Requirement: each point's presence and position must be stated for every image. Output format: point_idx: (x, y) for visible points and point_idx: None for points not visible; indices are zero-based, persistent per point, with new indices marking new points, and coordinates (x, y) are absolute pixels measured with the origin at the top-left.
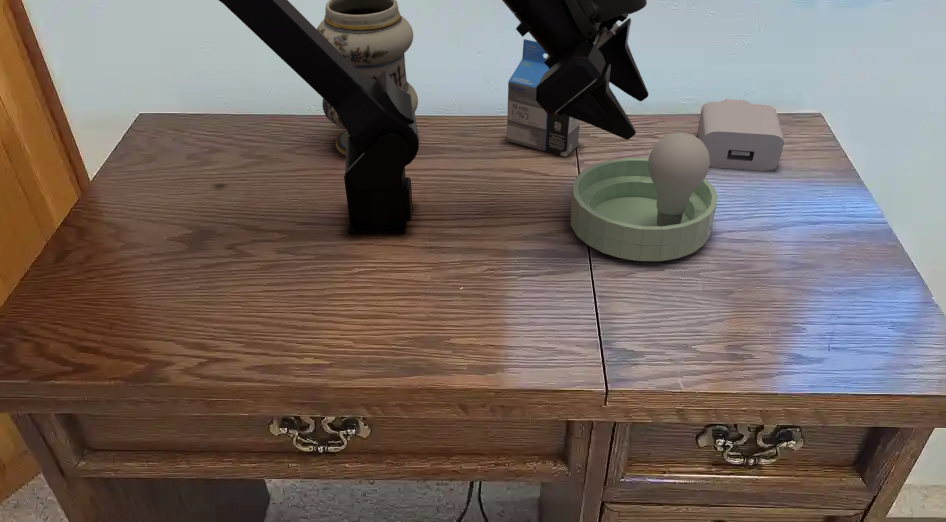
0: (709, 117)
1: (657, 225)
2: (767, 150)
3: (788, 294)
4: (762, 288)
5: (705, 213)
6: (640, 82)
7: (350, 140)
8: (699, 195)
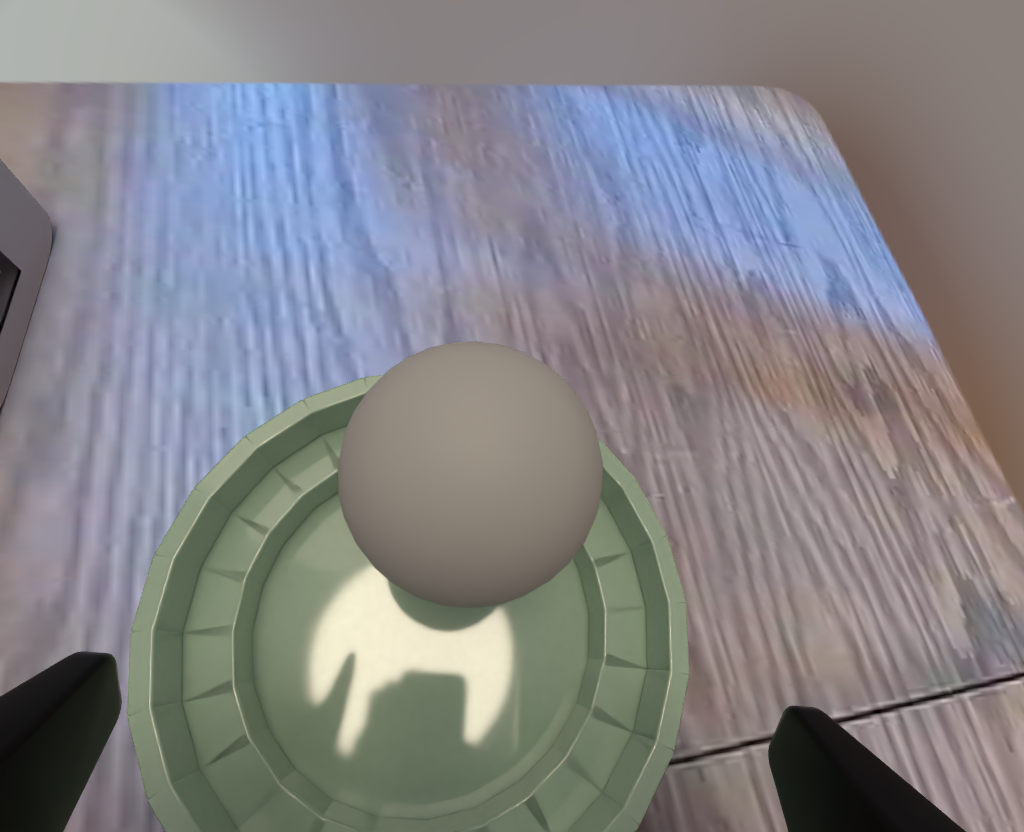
0: None
1: None
2: (5, 211)
3: (648, 282)
4: (642, 326)
5: None
6: (6, 760)
7: None
8: (331, 430)
